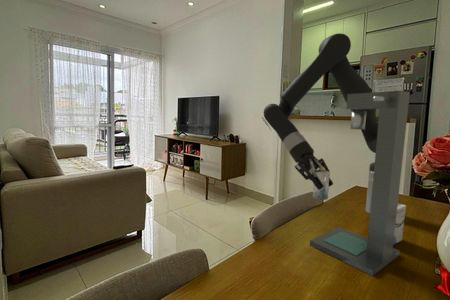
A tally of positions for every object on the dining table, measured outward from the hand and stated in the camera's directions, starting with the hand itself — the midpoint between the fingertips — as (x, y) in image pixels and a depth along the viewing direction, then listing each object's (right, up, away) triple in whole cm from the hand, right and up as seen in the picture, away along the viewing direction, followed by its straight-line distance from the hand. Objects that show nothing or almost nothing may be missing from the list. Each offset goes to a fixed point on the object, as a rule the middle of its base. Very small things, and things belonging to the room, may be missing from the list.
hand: (326, 186), depth 82 cm
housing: (-1, -4, +2) cm, 5 cm away
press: (+3, -17, -10) cm, 20 cm away
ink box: (+18, -17, -3) cm, 25 cm away
